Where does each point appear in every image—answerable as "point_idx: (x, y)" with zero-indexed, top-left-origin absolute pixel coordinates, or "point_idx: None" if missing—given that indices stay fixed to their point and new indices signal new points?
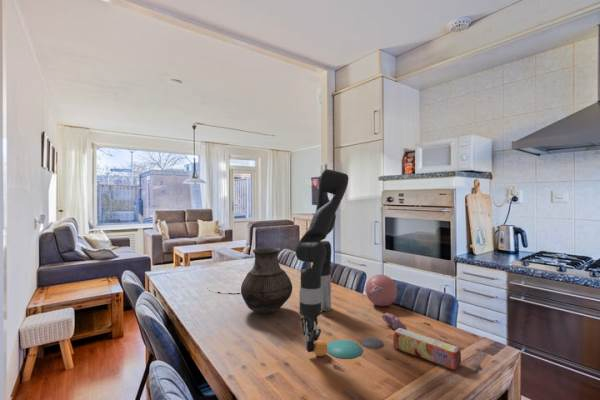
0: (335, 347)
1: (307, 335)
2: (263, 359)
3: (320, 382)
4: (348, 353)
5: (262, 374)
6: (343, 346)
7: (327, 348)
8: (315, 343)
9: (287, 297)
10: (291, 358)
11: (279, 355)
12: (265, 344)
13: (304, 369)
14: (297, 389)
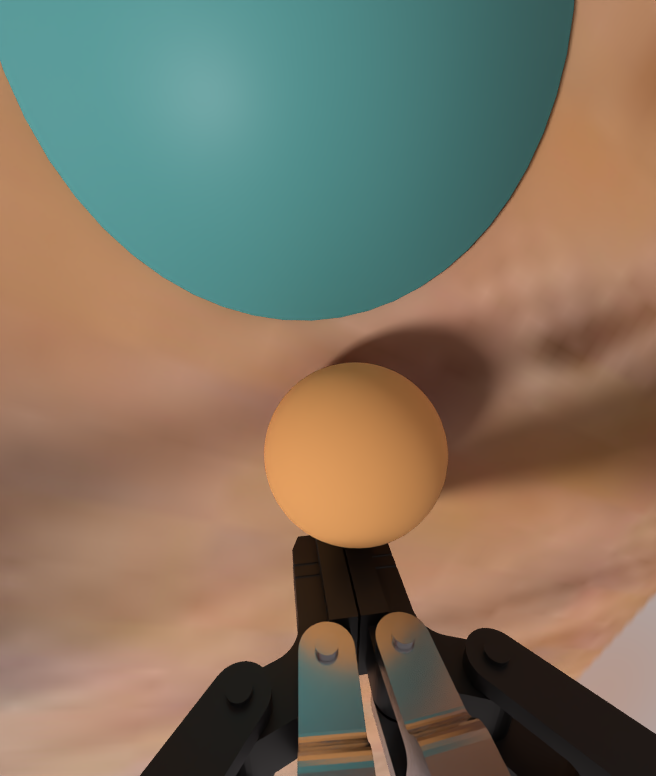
0: (237, 162)
1: (394, 768)
2: None
3: (638, 509)
4: (457, 60)
5: None
6: (246, 2)
7: (407, 381)
8: (360, 547)
9: None
10: None
11: None
12: (16, 743)
13: (468, 563)
14: (602, 616)
